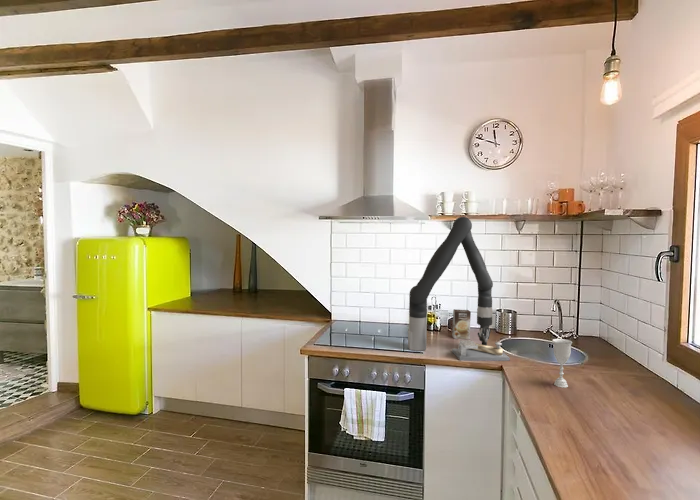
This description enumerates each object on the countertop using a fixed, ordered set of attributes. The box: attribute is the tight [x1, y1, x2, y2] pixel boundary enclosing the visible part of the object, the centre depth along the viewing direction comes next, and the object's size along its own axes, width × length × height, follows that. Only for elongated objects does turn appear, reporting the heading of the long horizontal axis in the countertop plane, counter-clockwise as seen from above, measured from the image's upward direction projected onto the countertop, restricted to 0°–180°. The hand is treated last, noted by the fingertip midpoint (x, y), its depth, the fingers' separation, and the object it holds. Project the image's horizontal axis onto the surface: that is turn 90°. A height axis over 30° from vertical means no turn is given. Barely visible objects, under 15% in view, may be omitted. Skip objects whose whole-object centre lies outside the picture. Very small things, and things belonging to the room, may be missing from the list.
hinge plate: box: [451, 341, 511, 362], centre depth 194 cm, size 24×14×7 cm, turn 91°
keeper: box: [458, 339, 478, 356], centre depth 191 cm, size 7×9×7 cm
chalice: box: [552, 338, 573, 388], centre depth 157 cm, size 7×7×18 cm
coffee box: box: [451, 309, 472, 340], centre depth 227 cm, size 9×6×16 cm
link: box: [474, 342, 504, 355], centre depth 196 cm, size 18×4×2 cm, turn 47°
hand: (484, 348), depth 199 cm, fingers closed
